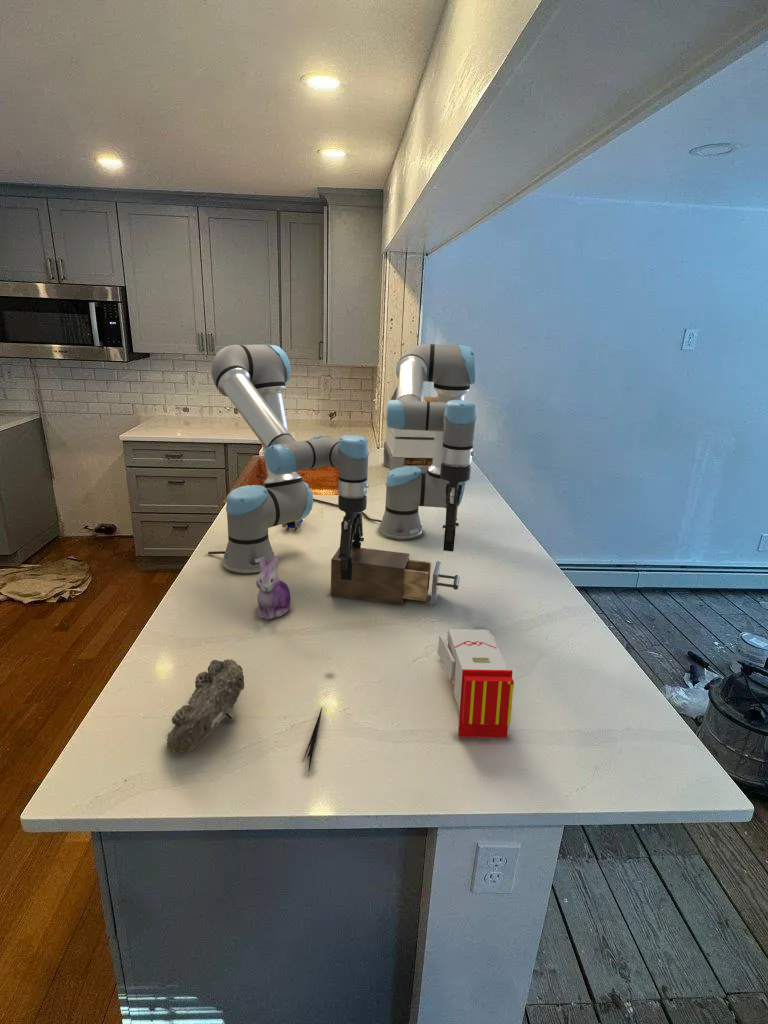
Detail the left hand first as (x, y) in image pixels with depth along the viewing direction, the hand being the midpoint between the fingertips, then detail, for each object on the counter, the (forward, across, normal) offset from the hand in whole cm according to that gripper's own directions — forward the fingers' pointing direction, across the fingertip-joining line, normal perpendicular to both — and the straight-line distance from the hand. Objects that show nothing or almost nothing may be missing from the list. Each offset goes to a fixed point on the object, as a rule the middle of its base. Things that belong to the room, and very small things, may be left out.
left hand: (350, 570), depth 157 cm
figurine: (+6, -17, +16) cm, 24 cm away
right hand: (-10, 0, -26) cm, 28 cm away
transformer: (+6, +125, -3) cm, 126 cm away
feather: (+6, -53, -7) cm, 54 cm away
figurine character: (+6, +41, +31) cm, 52 cm away
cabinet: (+6, 0, -6) cm, 8 cm away
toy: (+6, -38, -35) cm, 52 cm away
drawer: (+5, 0, -18) cm, 18 cm away
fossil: (+6, -58, +13) cm, 59 cm away
